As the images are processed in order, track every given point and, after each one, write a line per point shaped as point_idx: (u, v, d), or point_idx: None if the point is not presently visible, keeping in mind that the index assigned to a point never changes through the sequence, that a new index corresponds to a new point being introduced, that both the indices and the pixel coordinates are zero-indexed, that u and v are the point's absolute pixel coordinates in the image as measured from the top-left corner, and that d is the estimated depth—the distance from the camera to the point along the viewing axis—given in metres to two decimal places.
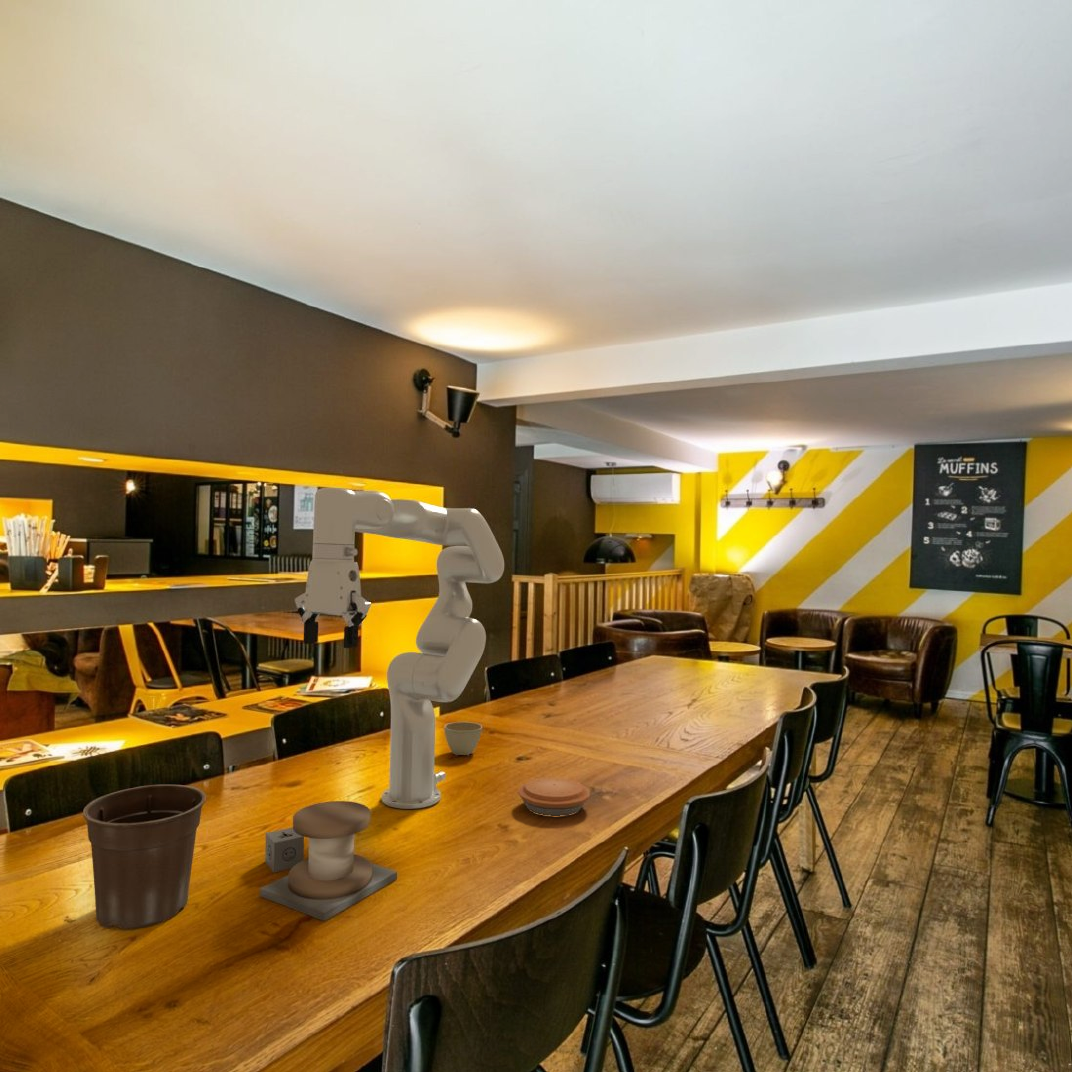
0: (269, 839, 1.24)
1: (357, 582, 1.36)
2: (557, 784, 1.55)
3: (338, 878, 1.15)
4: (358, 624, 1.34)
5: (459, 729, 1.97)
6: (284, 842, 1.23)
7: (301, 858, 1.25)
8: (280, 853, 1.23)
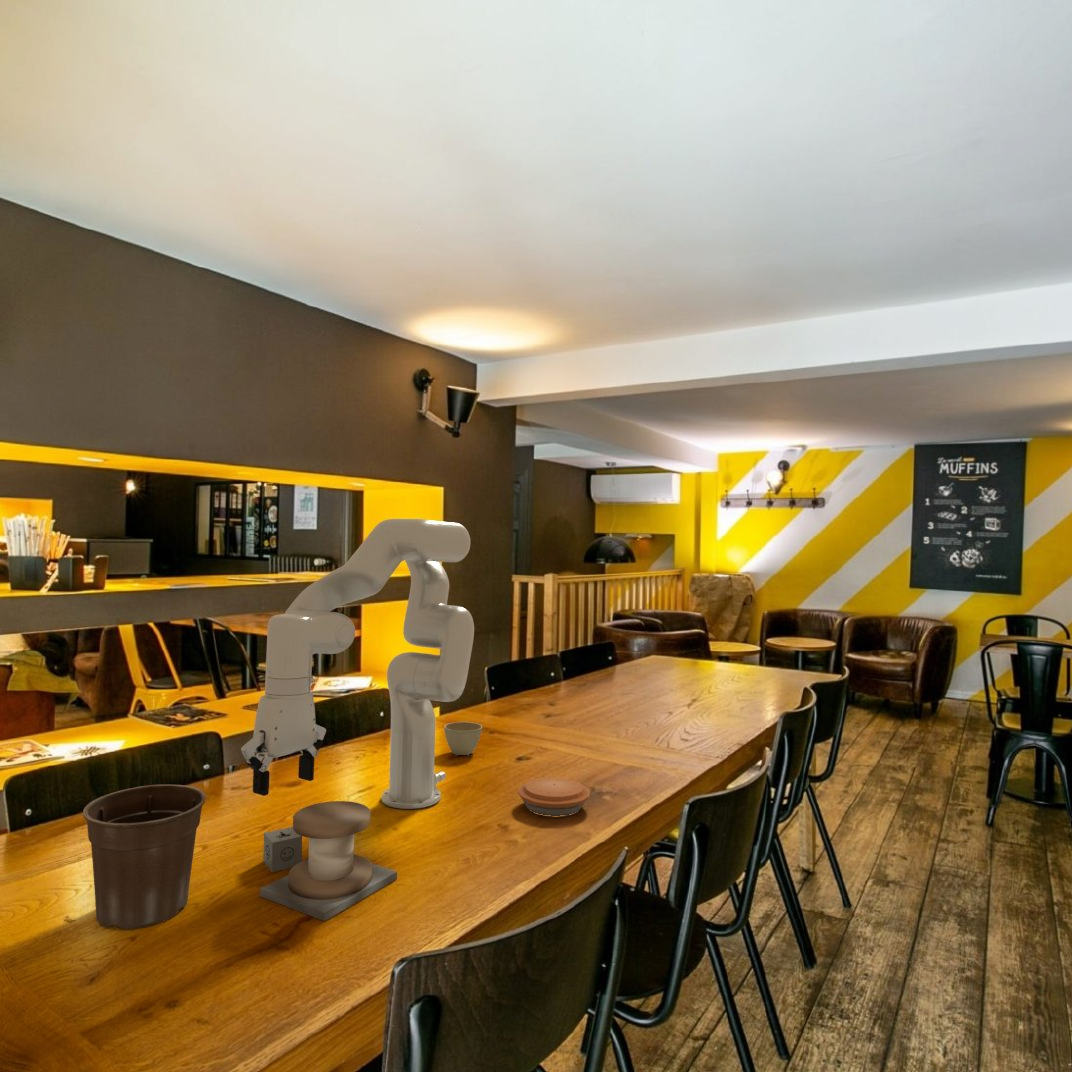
0: (267, 839, 1.24)
1: None
2: (557, 784, 1.55)
3: (338, 878, 1.15)
4: None
5: (459, 729, 1.97)
6: (282, 842, 1.23)
7: (299, 858, 1.25)
8: (278, 853, 1.23)
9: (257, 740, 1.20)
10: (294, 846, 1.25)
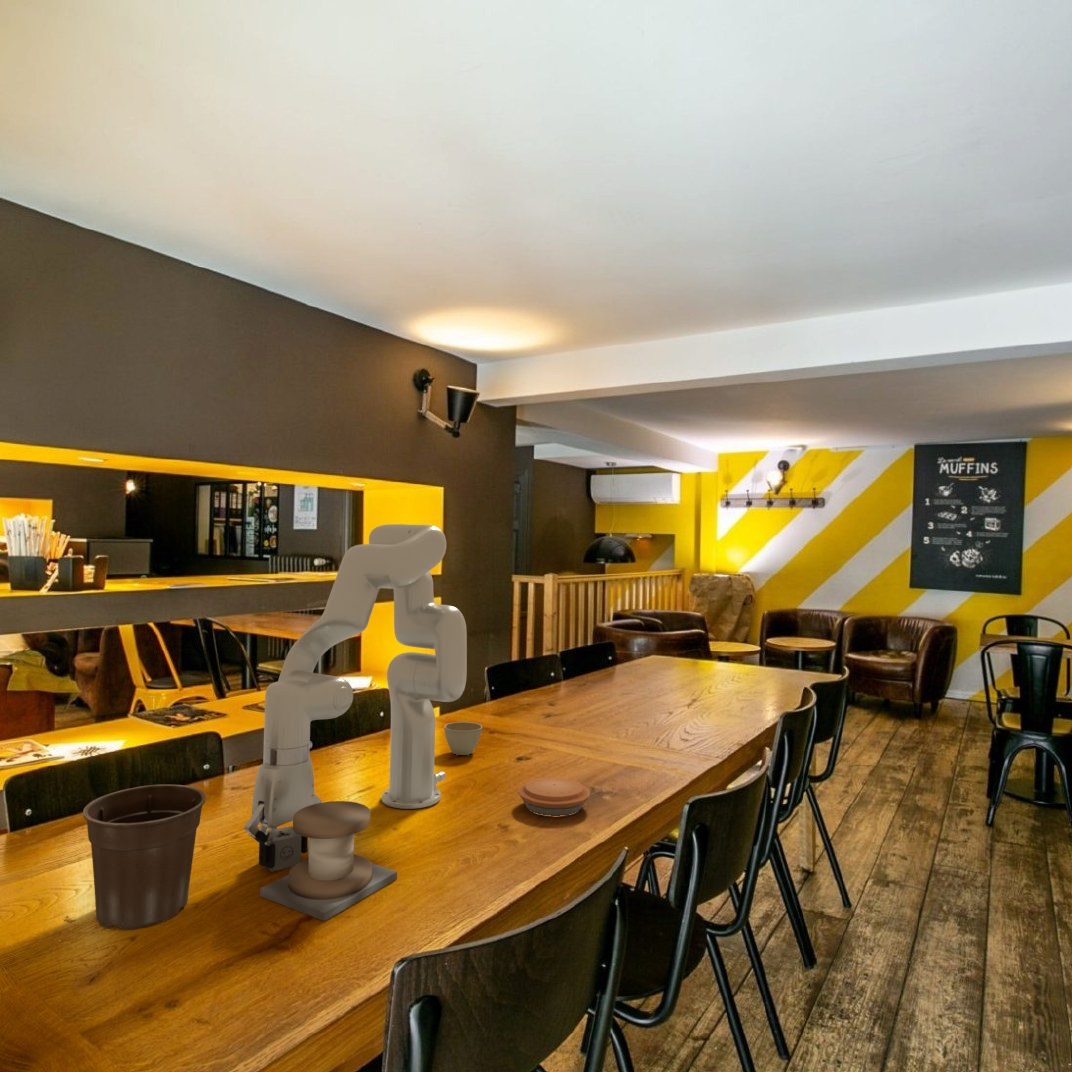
0: None
1: None
2: (557, 784, 1.55)
3: (338, 878, 1.15)
4: None
5: (459, 729, 1.97)
6: (281, 841, 1.23)
7: (298, 857, 1.25)
8: (278, 852, 1.23)
9: (258, 816, 1.20)
10: (293, 845, 1.25)
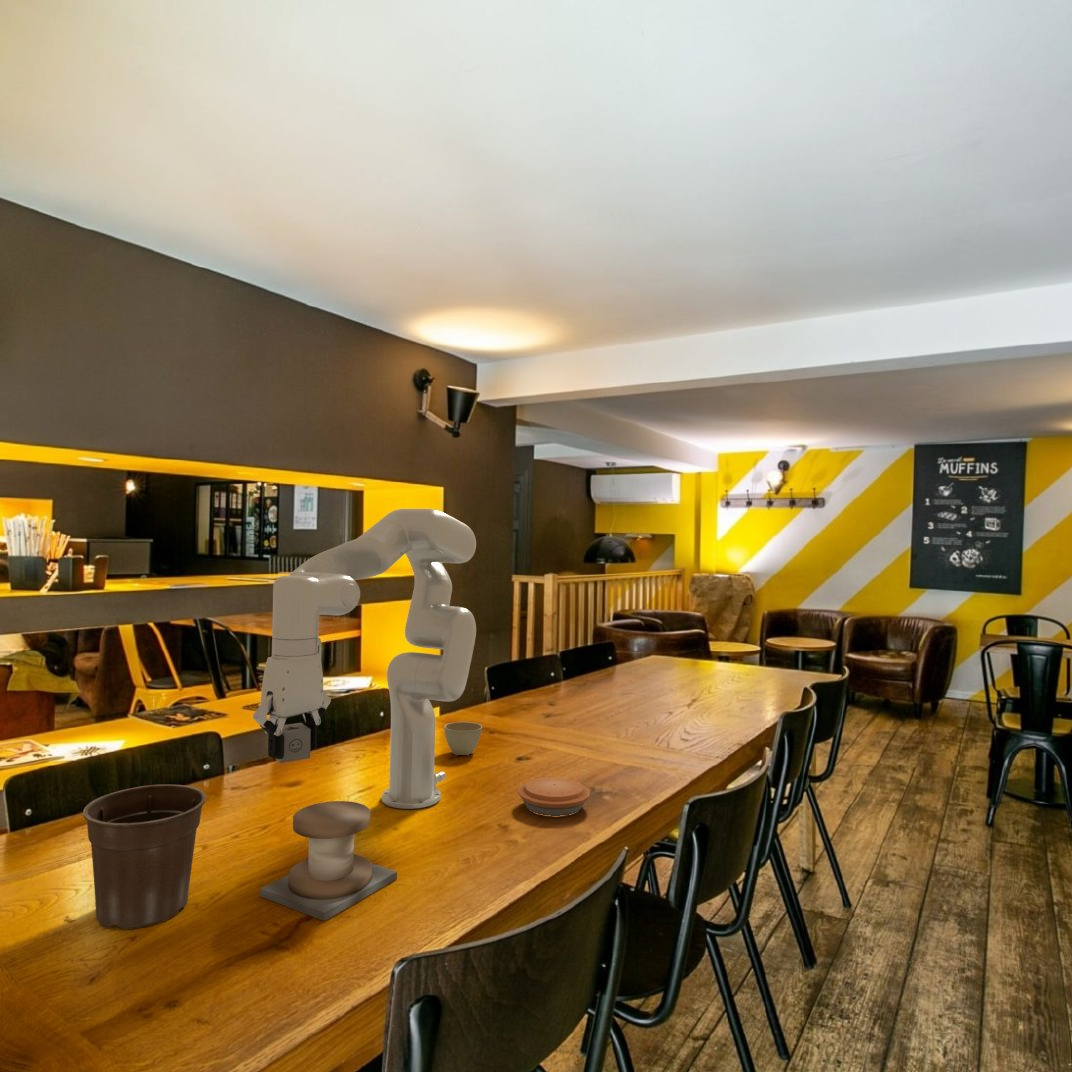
0: None
1: None
2: (557, 784, 1.55)
3: (338, 878, 1.15)
4: None
5: (459, 729, 1.97)
6: (291, 733, 1.23)
7: (308, 750, 1.25)
8: (287, 744, 1.23)
9: (267, 705, 1.20)
10: (302, 738, 1.24)
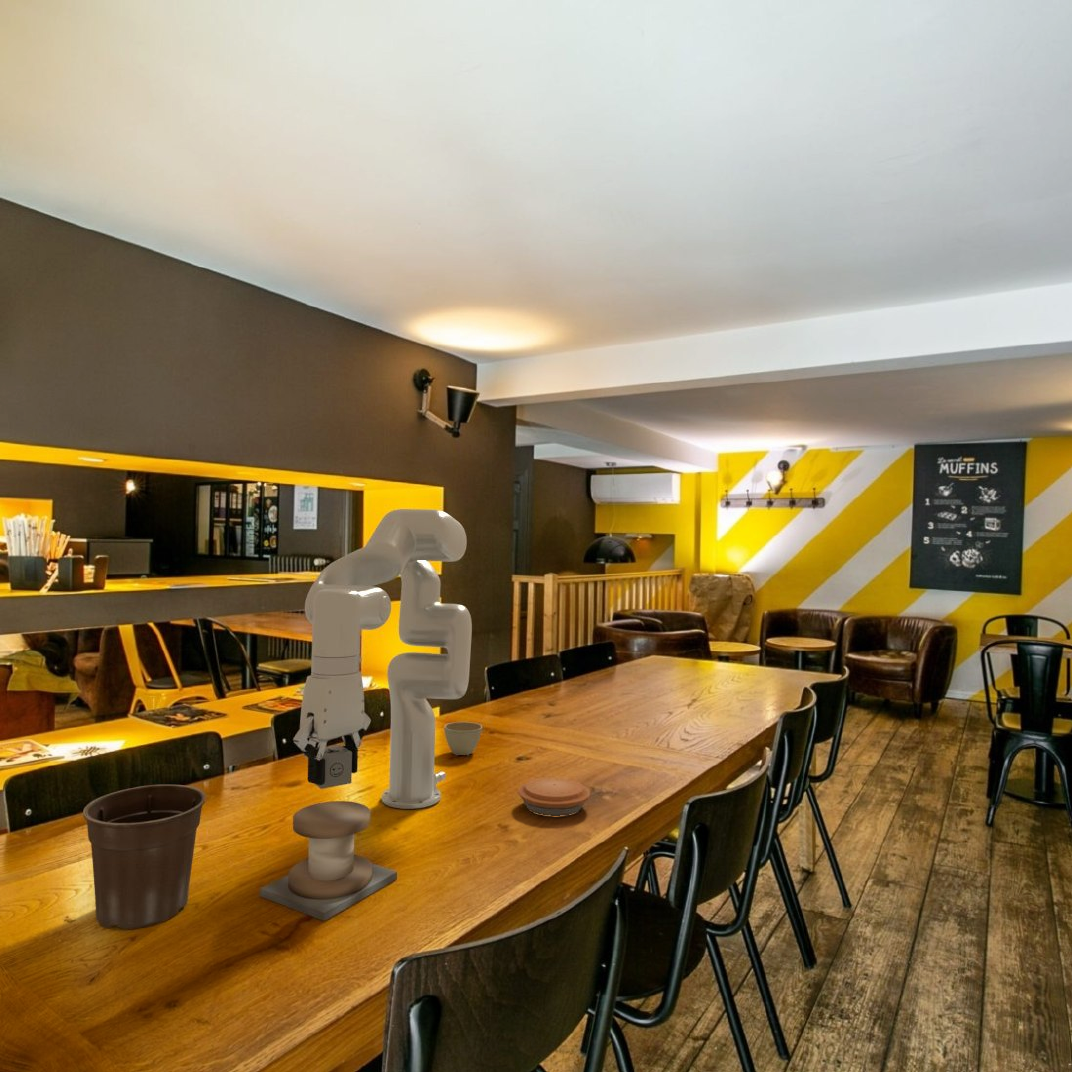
0: None
1: None
2: (557, 784, 1.55)
3: (338, 878, 1.15)
4: None
5: (459, 729, 1.97)
6: (332, 757, 1.15)
7: (349, 775, 1.17)
8: (327, 768, 1.15)
9: (308, 727, 1.12)
10: (344, 762, 1.17)
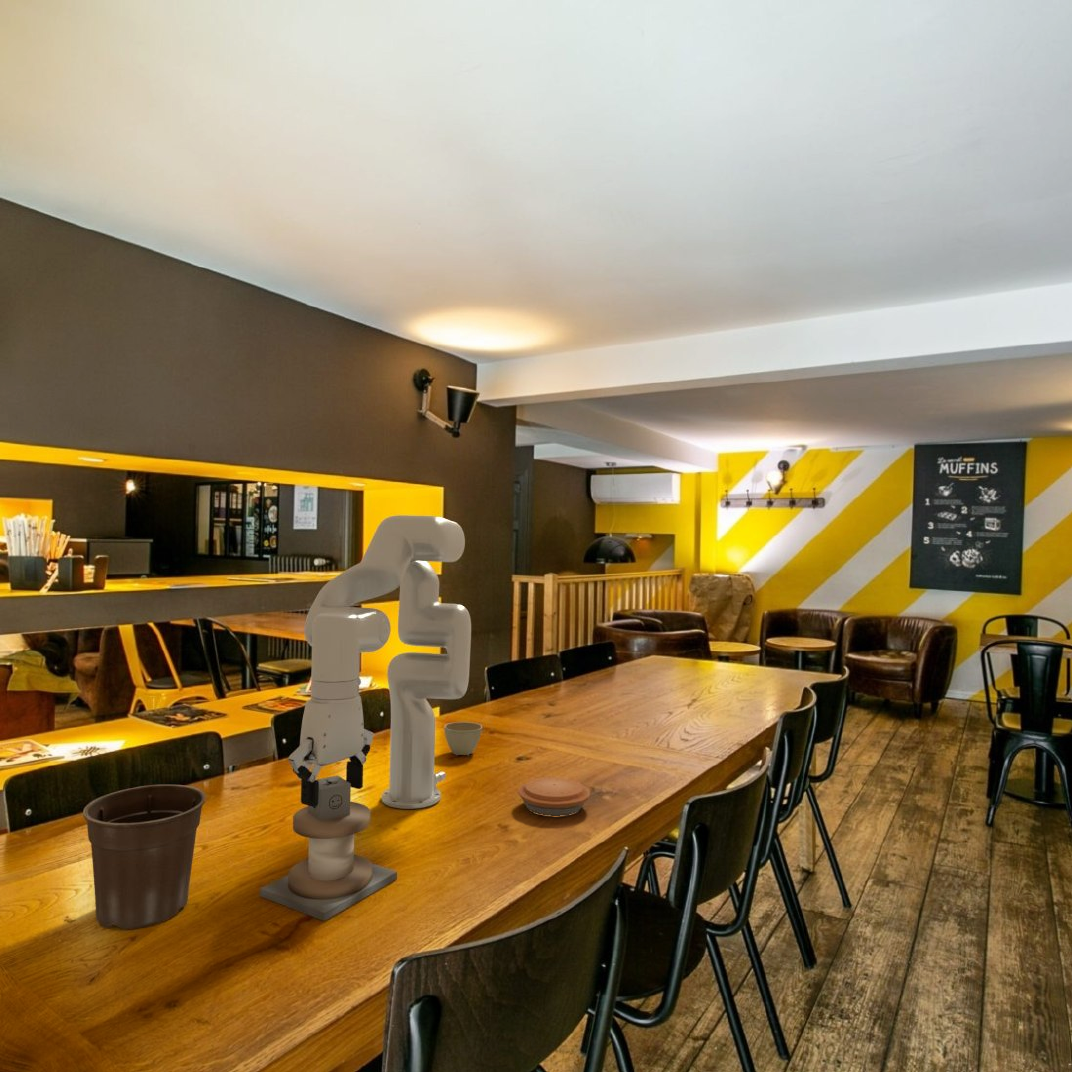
0: None
1: None
2: (557, 784, 1.55)
3: (338, 878, 1.15)
4: None
5: (459, 729, 1.97)
6: (331, 789, 1.15)
7: (348, 806, 1.17)
8: (327, 801, 1.15)
9: (305, 748, 1.12)
10: (342, 794, 1.17)
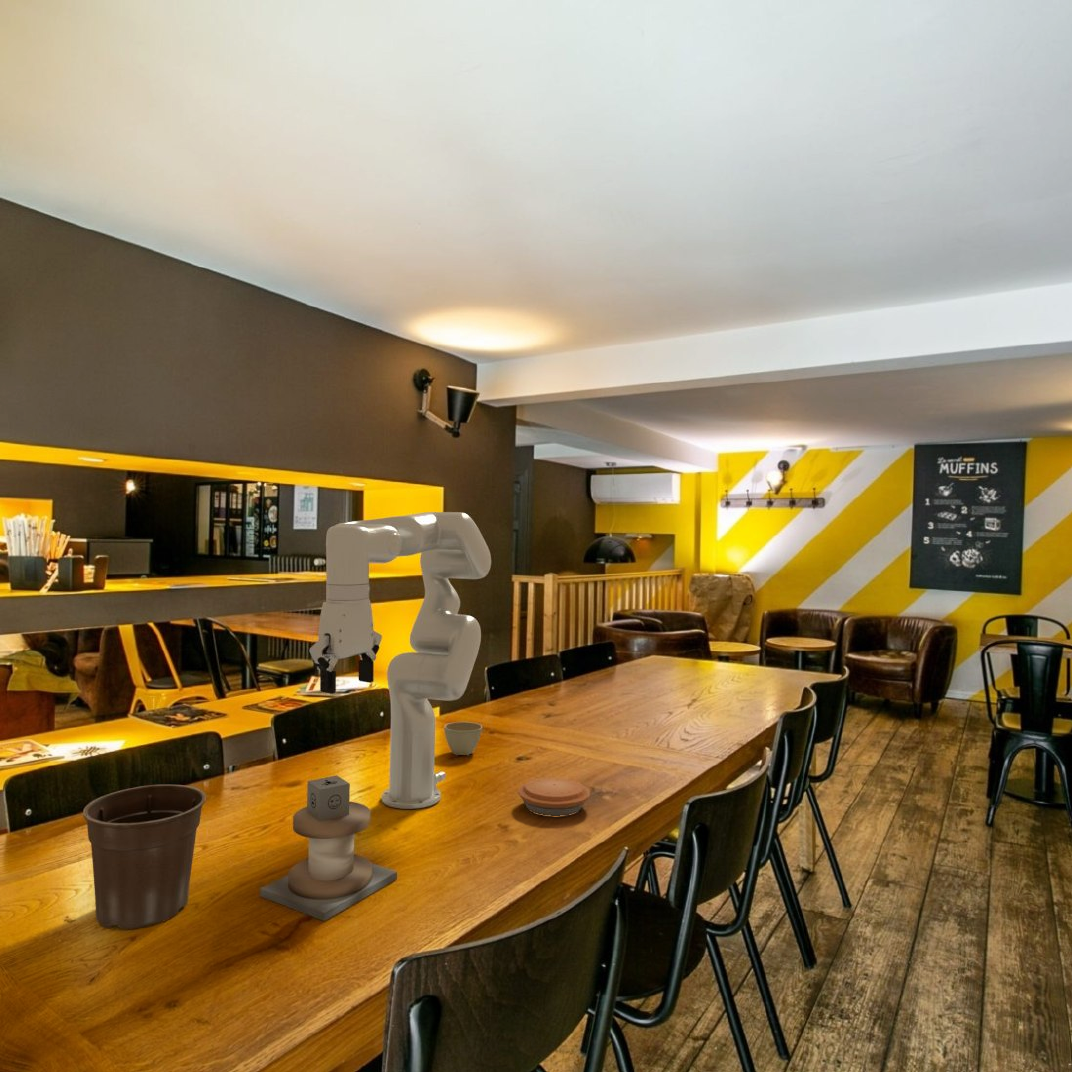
0: (313, 786, 1.17)
1: None
2: (557, 784, 1.55)
3: (338, 878, 1.15)
4: None
5: (459, 729, 1.97)
6: (330, 789, 1.16)
7: (347, 806, 1.17)
8: (326, 801, 1.15)
9: (323, 642, 1.27)
10: (341, 794, 1.17)
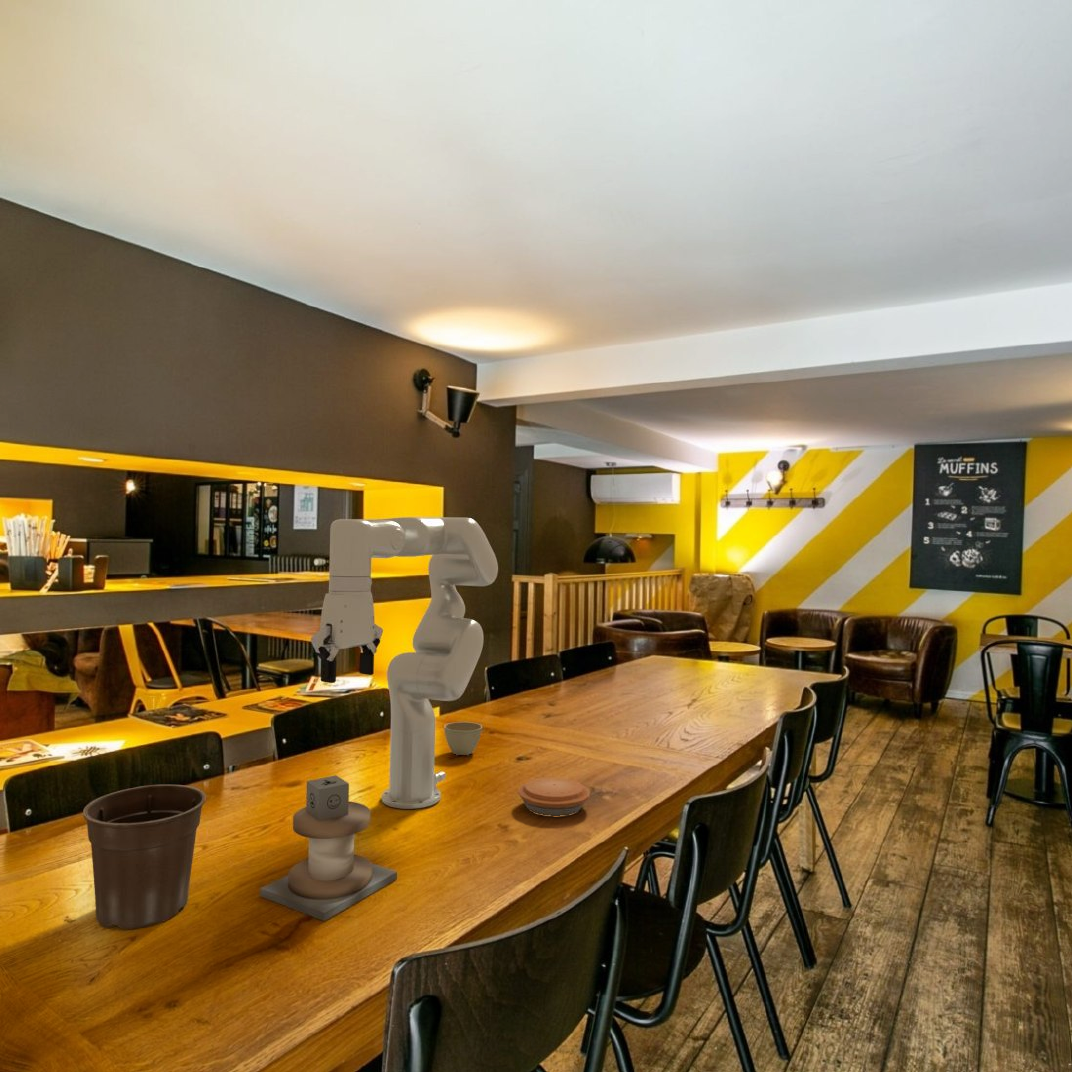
0: (312, 786, 1.17)
1: None
2: (557, 784, 1.55)
3: (338, 878, 1.15)
4: None
5: (459, 729, 1.97)
6: (329, 789, 1.16)
7: (346, 806, 1.17)
8: (325, 800, 1.15)
9: (325, 631, 1.29)
10: (341, 794, 1.17)
